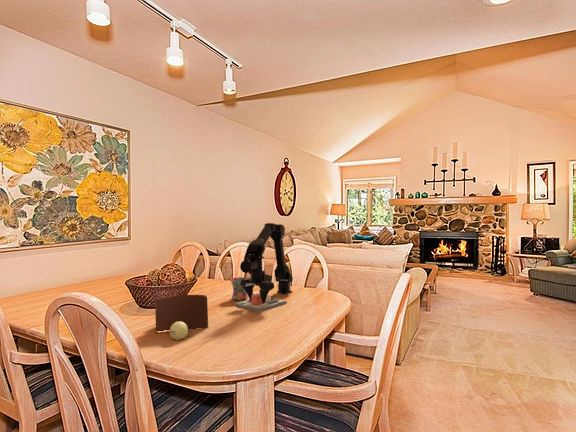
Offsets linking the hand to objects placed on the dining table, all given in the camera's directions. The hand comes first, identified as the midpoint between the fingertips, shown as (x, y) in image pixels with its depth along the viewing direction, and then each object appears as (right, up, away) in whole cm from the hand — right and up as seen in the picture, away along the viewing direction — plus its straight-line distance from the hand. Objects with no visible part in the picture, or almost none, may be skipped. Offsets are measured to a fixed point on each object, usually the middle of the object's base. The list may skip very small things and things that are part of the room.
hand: (257, 301), depth 161 cm
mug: (-11, -3, +19) cm, 22 cm away
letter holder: (-28, -5, -24) cm, 37 cm away
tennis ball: (-26, -4, -37) cm, 45 cm away
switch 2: (+4, -1, +4) cm, 6 cm away
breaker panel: (+1, -3, +6) cm, 7 cm away
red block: (0, -2, 0) cm, 2 cm away
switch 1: (-2, -2, +10) cm, 10 cm away
